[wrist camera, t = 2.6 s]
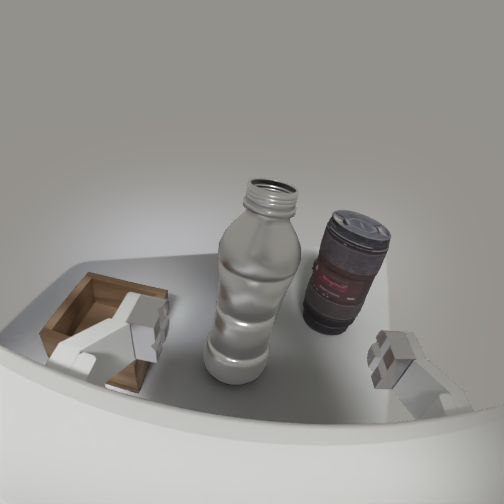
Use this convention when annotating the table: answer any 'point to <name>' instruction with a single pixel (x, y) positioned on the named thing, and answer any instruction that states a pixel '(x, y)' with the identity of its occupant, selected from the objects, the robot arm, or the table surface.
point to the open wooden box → (97, 319)
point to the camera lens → (344, 271)
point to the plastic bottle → (252, 281)
